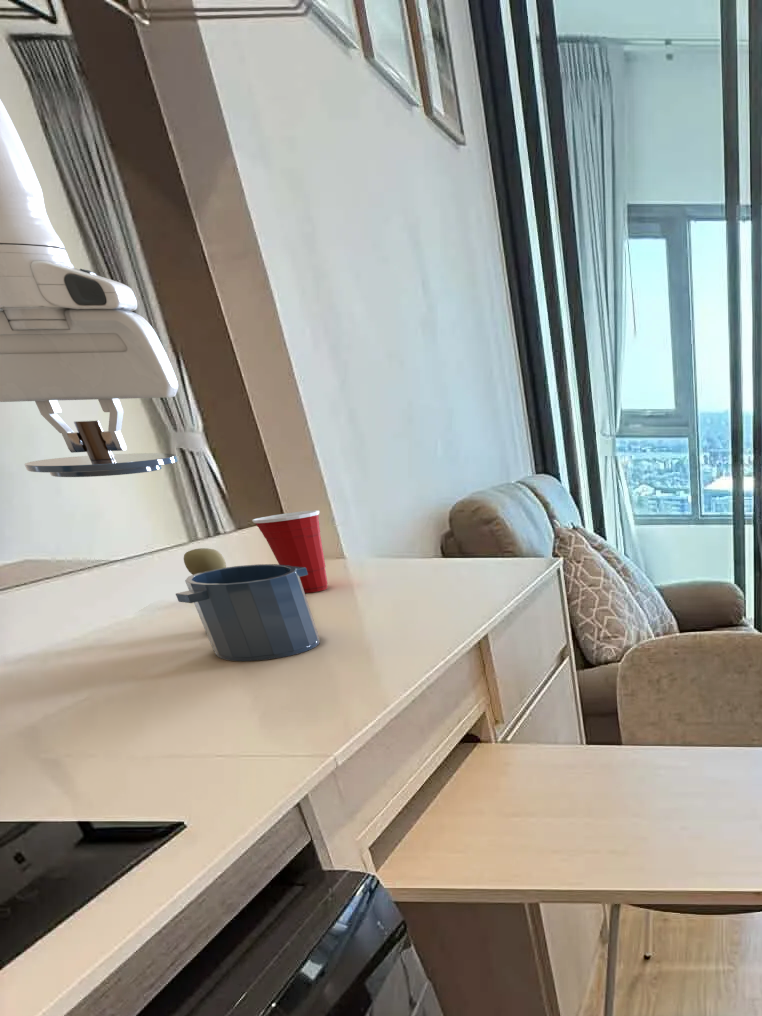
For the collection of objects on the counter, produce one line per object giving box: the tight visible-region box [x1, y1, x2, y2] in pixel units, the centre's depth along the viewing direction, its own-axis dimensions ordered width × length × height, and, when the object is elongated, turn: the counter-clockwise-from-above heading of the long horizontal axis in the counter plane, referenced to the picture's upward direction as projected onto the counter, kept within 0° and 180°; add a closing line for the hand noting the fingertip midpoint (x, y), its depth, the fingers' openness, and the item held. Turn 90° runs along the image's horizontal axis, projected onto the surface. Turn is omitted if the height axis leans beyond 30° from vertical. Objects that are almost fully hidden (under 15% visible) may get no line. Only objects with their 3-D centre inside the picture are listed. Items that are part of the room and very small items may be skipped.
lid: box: [24, 419, 179, 478], centre depth 94 cm, size 15×15×5 cm
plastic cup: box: [251, 509, 328, 594], centre depth 148 cm, size 11×11×12 cm
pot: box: [175, 563, 321, 662], centre depth 118 cm, size 14×19×10 cm
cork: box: [183, 547, 227, 575], centre depth 125 cm, size 6×6×11 cm
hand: (99, 451), depth 94 cm, fingers closed on lid, 2 cm apart
